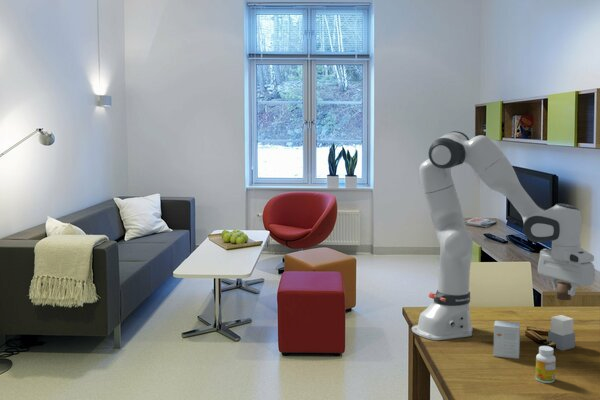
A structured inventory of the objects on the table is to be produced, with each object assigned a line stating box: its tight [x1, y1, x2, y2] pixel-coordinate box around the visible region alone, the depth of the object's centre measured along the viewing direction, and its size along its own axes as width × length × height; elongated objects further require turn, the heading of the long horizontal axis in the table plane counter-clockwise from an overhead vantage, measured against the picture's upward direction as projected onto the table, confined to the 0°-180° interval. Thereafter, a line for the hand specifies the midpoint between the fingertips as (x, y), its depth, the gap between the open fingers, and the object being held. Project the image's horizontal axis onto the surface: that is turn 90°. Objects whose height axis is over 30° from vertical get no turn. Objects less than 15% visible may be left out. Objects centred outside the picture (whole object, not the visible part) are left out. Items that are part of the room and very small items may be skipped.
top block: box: [549, 314, 574, 336], centre depth 214 cm, size 5×5×5 cm
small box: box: [493, 320, 521, 360], centre depth 207 cm, size 8×6×10 cm
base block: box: [547, 330, 576, 352], centre depth 214 cm, size 6×6×5 cm
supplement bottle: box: [534, 345, 557, 384], centre depth 187 cm, size 5×5×10 cm
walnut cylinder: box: [556, 281, 572, 301], centre depth 212 cm, size 4×4×5 cm
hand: (564, 293), depth 212 cm, fingers closed on walnut cylinder, 4 cm apart
